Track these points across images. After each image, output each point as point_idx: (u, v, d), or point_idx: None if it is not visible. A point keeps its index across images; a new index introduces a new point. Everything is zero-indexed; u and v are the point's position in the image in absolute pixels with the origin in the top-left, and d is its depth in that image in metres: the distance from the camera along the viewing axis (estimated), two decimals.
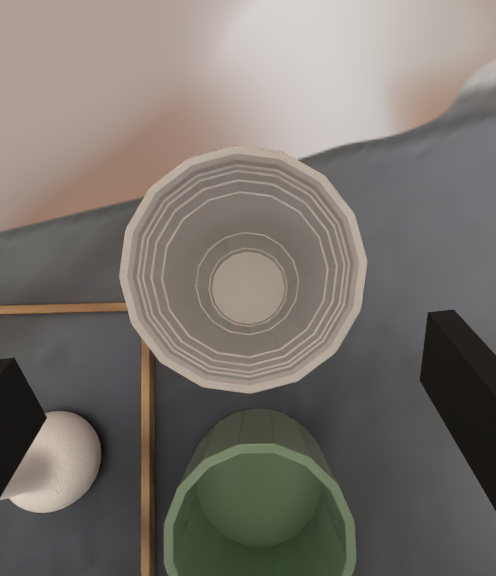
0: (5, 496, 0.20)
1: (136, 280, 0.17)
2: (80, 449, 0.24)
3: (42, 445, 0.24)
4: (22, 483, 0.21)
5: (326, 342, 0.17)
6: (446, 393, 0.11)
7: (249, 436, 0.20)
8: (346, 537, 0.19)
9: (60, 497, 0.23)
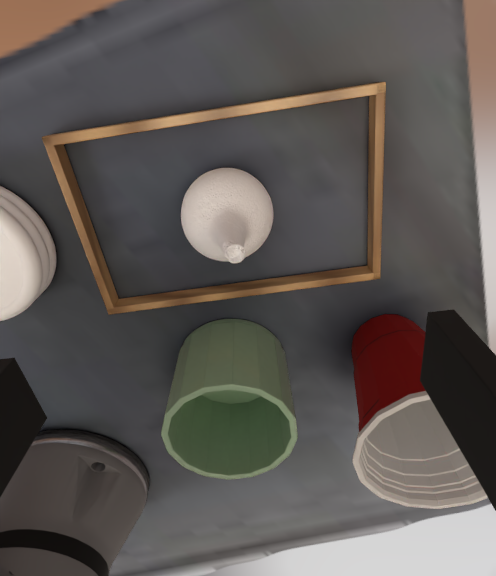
0: None
1: None
2: (248, 255, 0.26)
3: (252, 230, 0.24)
4: None
5: (384, 489, 0.25)
6: (446, 393, 0.11)
7: None
8: (241, 474, 0.29)
9: (206, 251, 0.25)
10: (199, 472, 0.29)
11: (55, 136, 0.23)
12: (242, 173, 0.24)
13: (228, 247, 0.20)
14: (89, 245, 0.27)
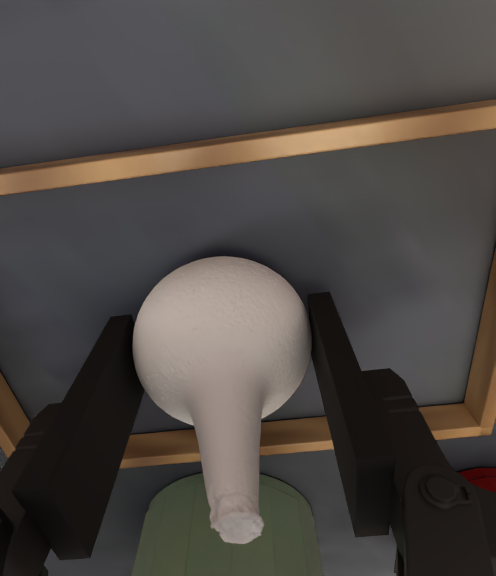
0: None
1: None
2: None
3: (274, 392, 0.12)
4: None
5: None
6: (317, 362, 0.12)
7: None
8: None
9: (181, 420, 0.13)
10: None
11: None
12: (255, 273, 0.12)
13: (221, 518, 0.08)
14: None
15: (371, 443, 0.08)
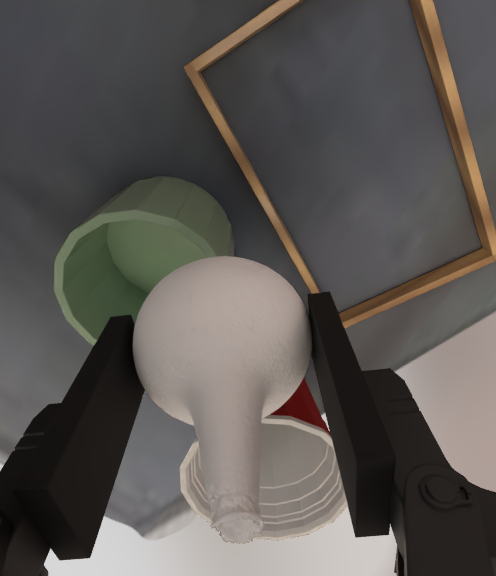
0: None
1: None
2: None
3: (274, 392, 0.12)
4: None
5: (189, 465, 0.23)
6: (317, 362, 0.12)
7: None
8: (85, 330, 0.22)
9: (181, 420, 0.13)
10: (57, 283, 0.20)
11: None
12: (256, 273, 0.12)
13: (221, 518, 0.08)
14: (278, 13, 0.20)
15: (371, 443, 0.08)
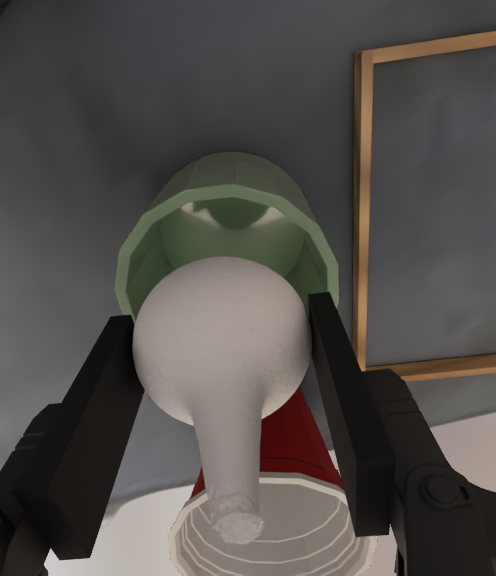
0: None
1: None
2: None
3: (274, 393, 0.12)
4: None
5: None
6: (317, 362, 0.12)
7: None
8: (131, 312, 0.17)
9: (181, 420, 0.13)
10: (128, 244, 0.15)
11: None
12: (255, 273, 0.12)
13: (221, 519, 0.08)
14: (488, 44, 0.17)
15: (371, 443, 0.08)
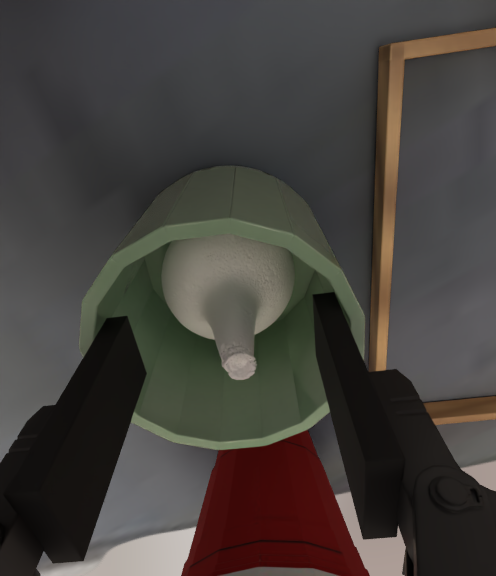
0: None
1: None
2: (257, 333, 0.18)
3: (265, 306, 0.16)
4: None
5: None
6: (322, 363, 0.12)
7: None
8: None
9: (197, 331, 0.17)
10: (94, 293, 0.12)
11: None
12: None
13: (229, 358, 0.12)
14: None
15: (380, 445, 0.07)
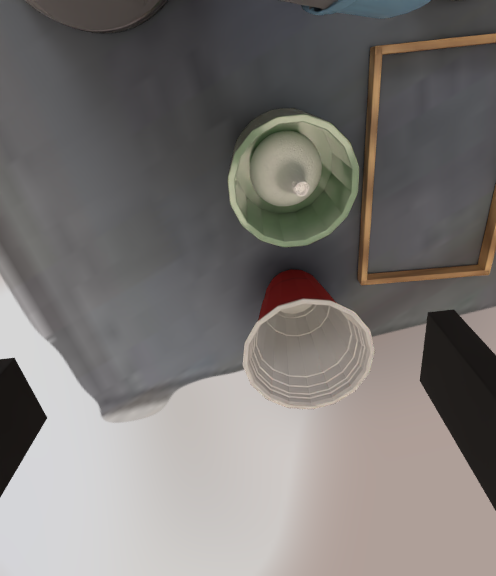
0: (294, 193, 0.28)
1: (365, 346, 0.31)
2: (300, 201, 0.33)
3: (307, 179, 0.31)
4: None
5: (261, 324, 0.30)
6: (446, 393, 0.11)
7: None
8: (235, 194, 0.28)
9: (269, 195, 0.32)
10: (241, 149, 0.26)
11: None
12: None
13: (297, 183, 0.27)
14: (450, 45, 0.29)
15: None
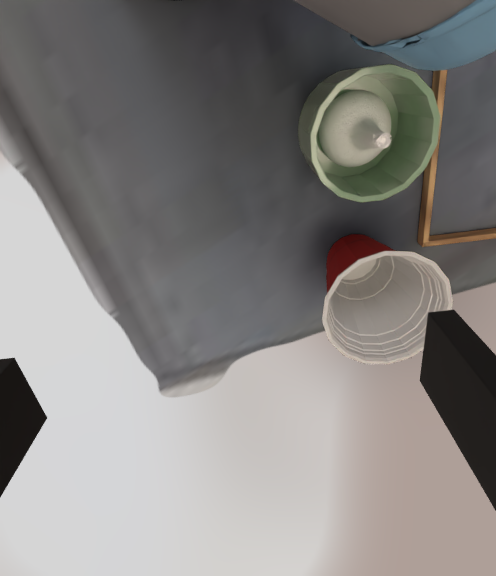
0: (374, 146, 0.29)
1: (442, 298, 0.32)
2: (369, 160, 0.33)
3: None
4: None
5: (341, 279, 0.31)
6: (446, 393, 0.11)
7: None
8: (317, 149, 0.29)
9: (341, 154, 0.33)
10: (325, 102, 0.27)
11: None
12: None
13: (380, 135, 0.28)
14: None
15: None
